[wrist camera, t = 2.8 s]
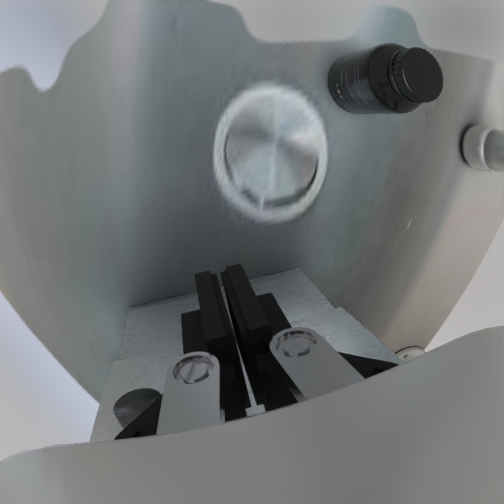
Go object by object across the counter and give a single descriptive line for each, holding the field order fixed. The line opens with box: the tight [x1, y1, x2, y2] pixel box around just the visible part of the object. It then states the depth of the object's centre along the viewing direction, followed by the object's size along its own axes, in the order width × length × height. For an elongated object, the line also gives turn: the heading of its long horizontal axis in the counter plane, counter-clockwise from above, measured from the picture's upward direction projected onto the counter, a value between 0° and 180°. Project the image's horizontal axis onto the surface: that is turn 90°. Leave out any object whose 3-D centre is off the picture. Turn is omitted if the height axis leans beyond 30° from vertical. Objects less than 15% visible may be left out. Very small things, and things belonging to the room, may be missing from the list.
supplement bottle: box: [329, 43, 443, 114], centre depth 25 cm, size 7×7×12 cm
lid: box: [90, 307, 405, 442], centre depth 17 cm, size 18×20×3 cm
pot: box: [119, 268, 335, 360], centre depth 34 cm, size 18×26×11 cm
